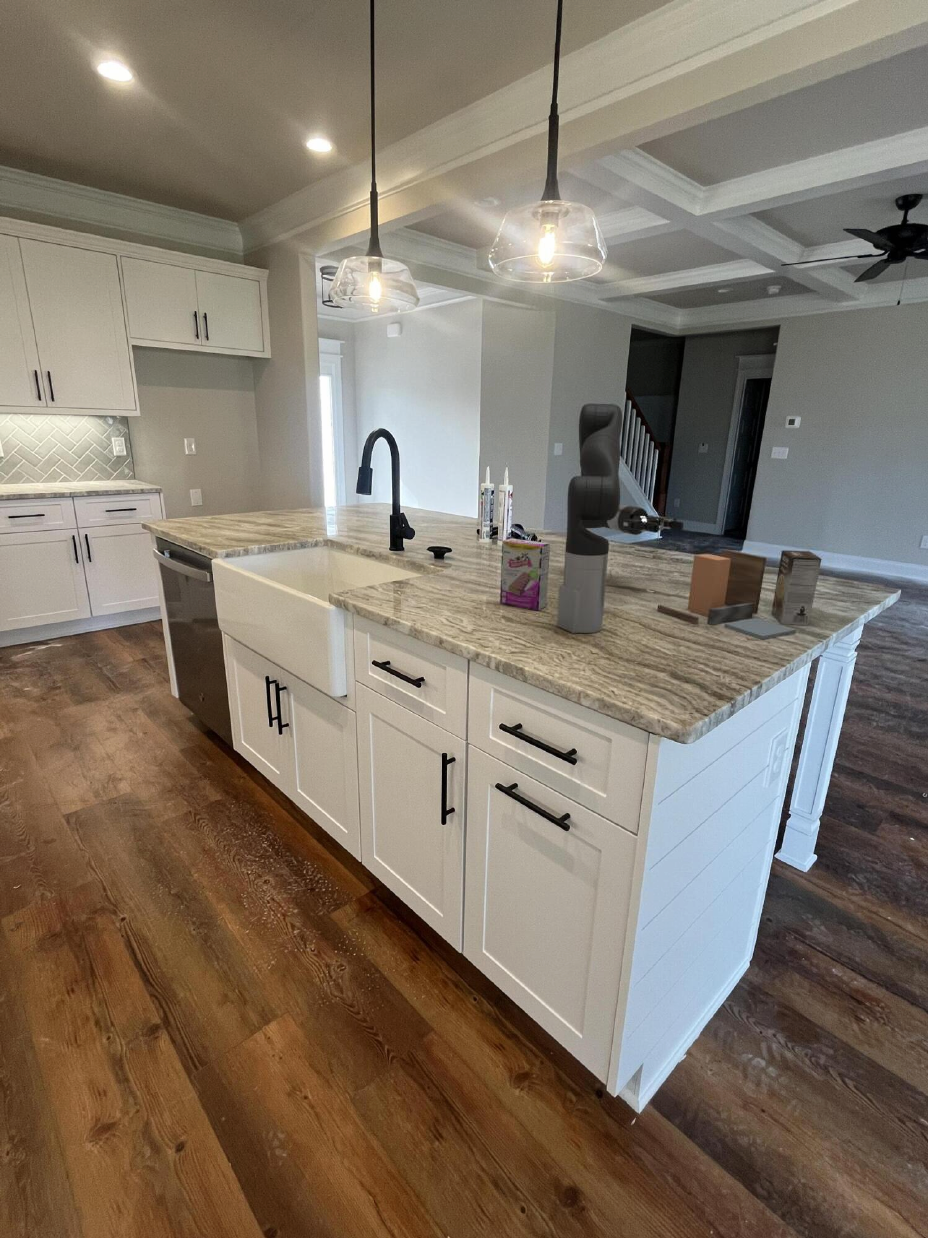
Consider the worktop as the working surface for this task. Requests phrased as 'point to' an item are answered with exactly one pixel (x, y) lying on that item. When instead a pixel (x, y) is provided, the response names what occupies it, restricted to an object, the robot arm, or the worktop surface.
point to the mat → (759, 628)
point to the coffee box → (795, 587)
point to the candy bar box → (524, 573)
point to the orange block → (708, 583)
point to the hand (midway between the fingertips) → (670, 527)
